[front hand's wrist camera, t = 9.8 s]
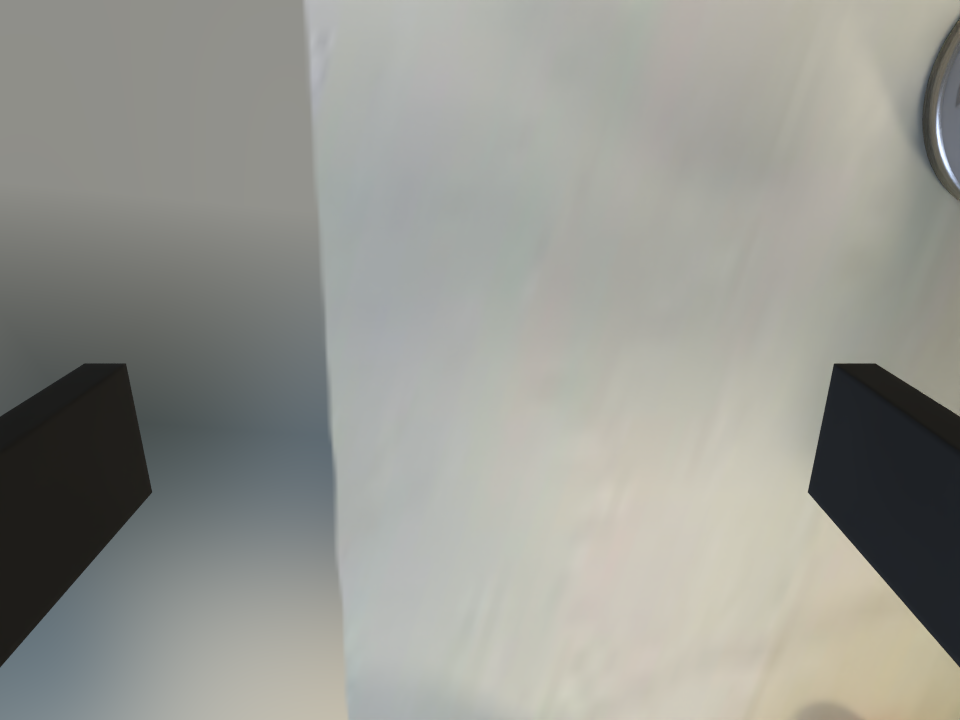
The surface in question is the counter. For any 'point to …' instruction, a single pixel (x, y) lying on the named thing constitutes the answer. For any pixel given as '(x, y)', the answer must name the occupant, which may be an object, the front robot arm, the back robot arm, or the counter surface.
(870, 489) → the front robot arm
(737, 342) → the counter surface
